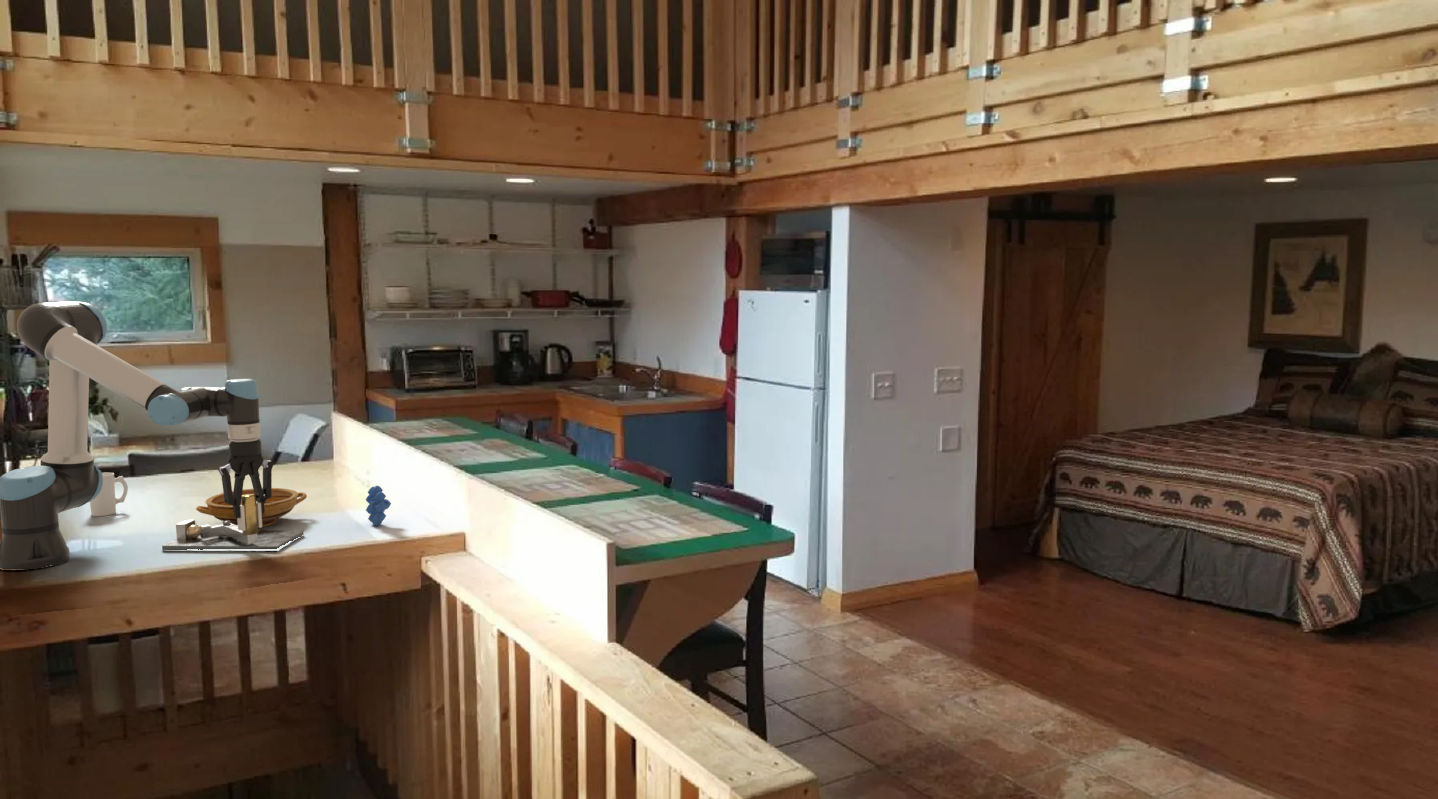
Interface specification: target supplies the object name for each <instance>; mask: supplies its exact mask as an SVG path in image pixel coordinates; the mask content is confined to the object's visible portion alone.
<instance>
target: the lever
mask: <svg viewBox="0 0 1438 799" xmlns="http://www.w3.org/2000/svg"><path fill="white" fill-rule="evenodd" d="M241 505H243V506H244V514H245V531H241V530H239V529H238V526H237V525H234V524H232V523H230V521H222V524H216V525H211V524H209V523H208V524H207V523H206V524H203V525H202V524H201V525H200V526H199V527H200V536H201V538H203V539H206V538H211V537H216V536H221V535H226V536H228V537H231V538H233V539H236V540H238V541H241V542H243V543H246V544H252V543H257V542H258V540H257V533H258V530H259V528H258V522H257V504H256V495H255V494H246V495H242V499H241Z"/></svg>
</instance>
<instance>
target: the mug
mask: <svg viewBox="0 0 1438 799" xmlns="http://www.w3.org/2000/svg"><path fill="white" fill-rule="evenodd" d="M101 473H102V476H103V485H102V488H101V491H100V492H99V494H98V495H97V496H96V497H95V498H94V499H93V500H92V501H90V502H89V504H90V505H89V506H90V512H91V516H93V517H107V516H111V515H114V514H116V512H117V508H116V507H117V506H116V505H118V504H119V503H124V502H125V500H126V497H127V494H128V490H129V487H128V484H127V481H126V480H125V478H124V476H123V475H121V476H120V475H119V476H118V477H115V473H114V472H101ZM117 482H119V483H120V484H122V486H123V490H122V491H123V493H122V494H121V496H119V497H116V492H115V491H116V490H115V488H116V486H115V484H116V483H117Z"/></svg>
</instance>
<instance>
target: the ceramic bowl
mask: <svg viewBox="0 0 1438 799" xmlns="http://www.w3.org/2000/svg"><path fill="white" fill-rule="evenodd" d="M262 490H263V487H262ZM232 494H233V490H232ZM246 494H255V493H254V489H253V488H247V489H244V488H243V491H242V495H246ZM307 497H308V496H307V493H306V492H301V491H300V492H298V491H296V490H293V489H289V488H282V487H272V496H271V498H268V499H266V502H264V508H265V512H264V514H262V527H261V528H263V527H269V526H272V525H273V524H275V523H276V520H278V519H280V518H282V517H283V516H285V515H287V514H289V513H290V512H291V511H292V510H293V509H294V508H295V506H296V505H298V504H300V503H301V502H303V501H304V500H306V499H307ZM256 501H257V500H256ZM205 504H206V505H207V506H203V505H198V506H196V508H195V509H196V511H197V512H199V513H201V514H204V515H208V516H212V517H214V518H215V519H217V520H219V521H222V522H223V521H230V523H232V524H234V525H237V526H238V522H237V518H234V514H233V506H232V505H229V504H226V503H225V501H224V493H223V492H222V493H219V494H218V493H217V494H216V495H212V496H210V497H208V498H207V499H206V500H205ZM258 529H260V528H259V527H258Z"/></svg>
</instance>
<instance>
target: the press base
mask: <svg viewBox="0 0 1438 799" xmlns="http://www.w3.org/2000/svg"><path fill="white" fill-rule="evenodd" d="M175 532H176V533H175V534H176V538H175V539H173V540H171V541H169V542H167V543H165V544H162V550H187V549H198V550H199V549H200V550H203V549H277V548H279V547H280V546H282V545H285V544H286V543H288V542H289V541H293V540H294V539H296V538H298V537H301V536H302V535H305V534H304V530H285V529H284V530H275V529H273V530H271V529H269V530H268V529H267V530H266V529H263V530H262V529H258V533H257V540H258V542H257V543H252V544H246V543H243V542H241V541H238V540H236V539H233V538H231V537H228V536H226V535H221V536H216V537H211V538H206V539H203V538H201V536H200V526H199V525H197V524H196V519H185V520H182V521H180V522H177V523H176V524H175ZM301 538H302V537H301ZM162 550H161V551H162Z"/></svg>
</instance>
